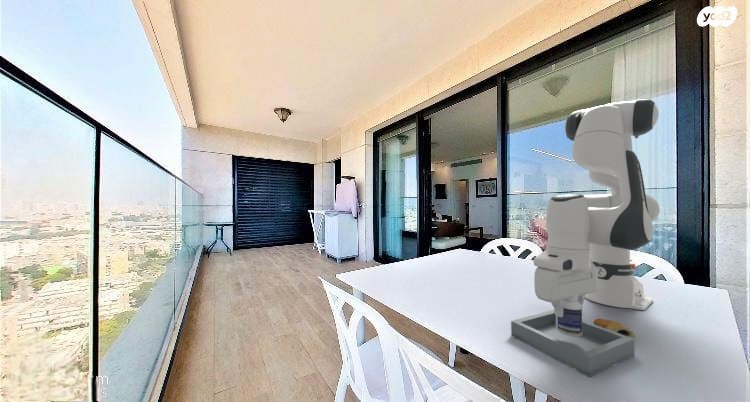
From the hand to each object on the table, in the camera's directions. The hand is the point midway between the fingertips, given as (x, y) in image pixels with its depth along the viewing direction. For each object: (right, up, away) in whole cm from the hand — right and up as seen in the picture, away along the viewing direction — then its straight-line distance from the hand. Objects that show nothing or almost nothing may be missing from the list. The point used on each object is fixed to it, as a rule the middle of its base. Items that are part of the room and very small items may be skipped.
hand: (568, 313), depth 64 cm
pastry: (+16, -8, +6) cm, 19 cm away
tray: (0, -8, 0) cm, 8 cm away
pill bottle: (0, -5, 0) cm, 5 cm away
